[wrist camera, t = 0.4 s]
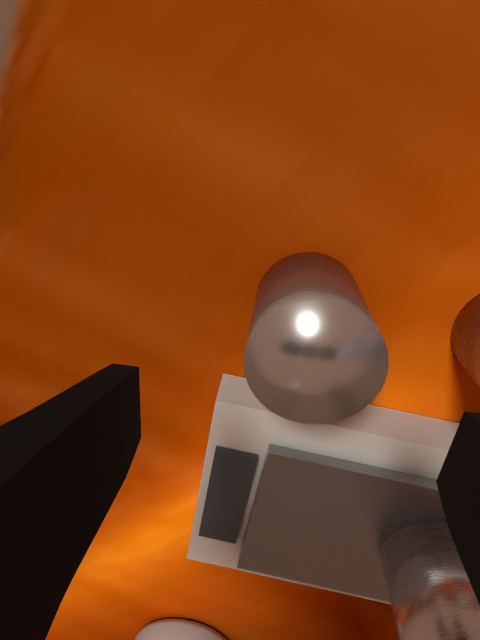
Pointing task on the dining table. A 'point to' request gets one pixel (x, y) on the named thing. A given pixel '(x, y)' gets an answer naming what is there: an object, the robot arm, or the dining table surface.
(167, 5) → the dining table surface
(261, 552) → the grey metal plate
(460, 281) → the dining table surface
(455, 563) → the cylinder
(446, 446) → the scale
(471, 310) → the cylinder
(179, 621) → the milk bottle
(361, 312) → the cylinder
